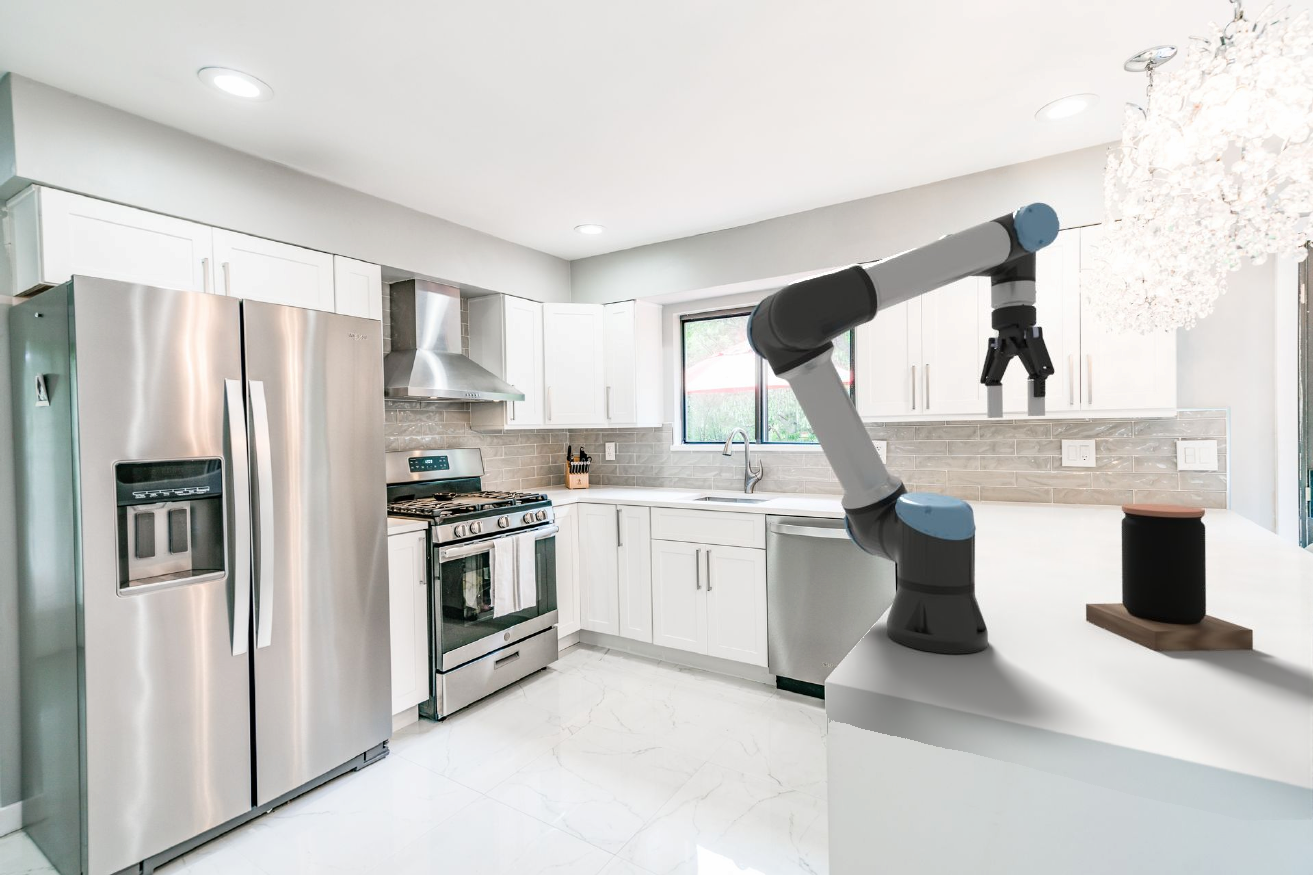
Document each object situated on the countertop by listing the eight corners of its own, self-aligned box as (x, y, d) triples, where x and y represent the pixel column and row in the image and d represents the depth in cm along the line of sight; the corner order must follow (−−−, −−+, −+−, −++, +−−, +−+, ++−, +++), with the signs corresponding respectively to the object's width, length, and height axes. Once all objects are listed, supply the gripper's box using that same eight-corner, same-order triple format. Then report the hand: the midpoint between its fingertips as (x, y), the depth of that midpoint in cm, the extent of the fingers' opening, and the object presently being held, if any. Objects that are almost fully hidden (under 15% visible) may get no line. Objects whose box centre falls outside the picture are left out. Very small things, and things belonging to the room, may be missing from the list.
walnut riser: (1155, 650, 93) (1155, 631, 93) (1086, 620, 108) (1086, 603, 108) (1252, 649, 93) (1252, 630, 93) (1170, 619, 108) (1170, 602, 108)
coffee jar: (1225, 625, 95) (1224, 511, 95) (1155, 626, 96) (1154, 512, 95) (1169, 606, 106) (1168, 503, 106) (1107, 606, 106) (1106, 504, 106)
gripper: (1077, 292, 105) (1078, 414, 106) (996, 319, 130) (997, 418, 130) (1034, 293, 105) (1035, 415, 106) (961, 319, 130) (962, 418, 130)
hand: (1014, 417), depth 118 cm, fingers open, 13 cm apart
